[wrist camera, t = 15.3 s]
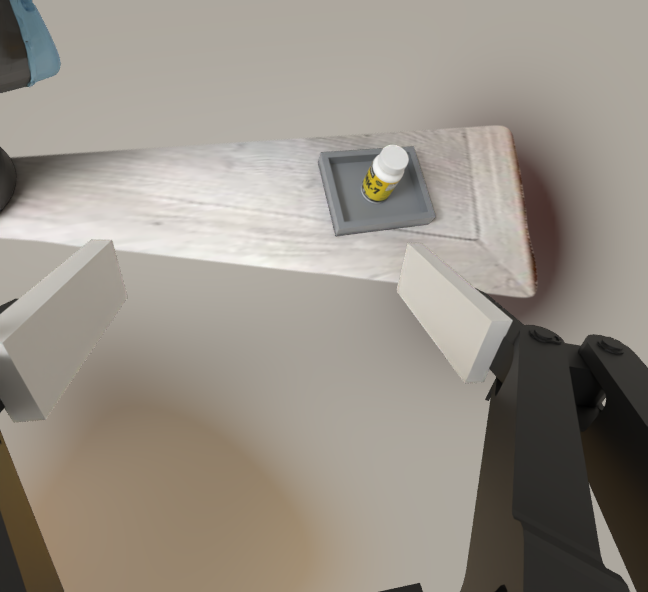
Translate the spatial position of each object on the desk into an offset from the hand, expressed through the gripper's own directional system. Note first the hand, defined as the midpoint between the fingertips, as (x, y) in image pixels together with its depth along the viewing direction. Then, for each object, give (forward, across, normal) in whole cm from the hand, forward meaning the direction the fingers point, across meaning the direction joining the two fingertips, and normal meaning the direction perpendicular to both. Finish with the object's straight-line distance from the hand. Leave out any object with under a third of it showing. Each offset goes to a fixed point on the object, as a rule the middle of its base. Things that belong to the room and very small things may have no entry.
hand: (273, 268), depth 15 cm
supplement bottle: (+36, +18, -4) cm, 41 cm away
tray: (+37, +18, -5) cm, 41 cm away
